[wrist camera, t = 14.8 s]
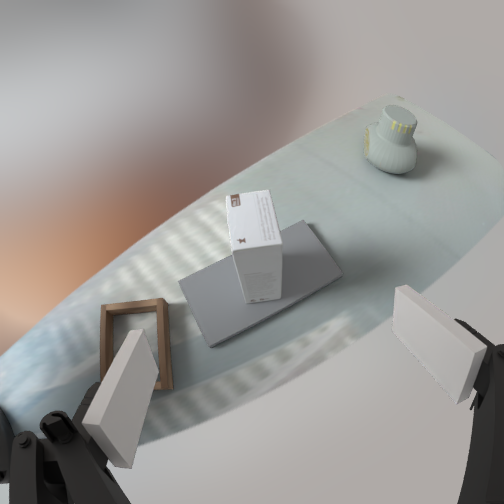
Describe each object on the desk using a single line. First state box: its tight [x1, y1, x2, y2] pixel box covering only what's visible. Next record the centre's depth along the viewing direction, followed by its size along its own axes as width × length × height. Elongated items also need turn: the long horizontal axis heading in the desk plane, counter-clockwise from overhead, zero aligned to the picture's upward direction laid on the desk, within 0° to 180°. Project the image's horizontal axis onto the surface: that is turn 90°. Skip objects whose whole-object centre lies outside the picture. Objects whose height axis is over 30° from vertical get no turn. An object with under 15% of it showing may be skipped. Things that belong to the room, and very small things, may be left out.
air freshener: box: [364, 105, 417, 174], centre depth 41 cm, size 11×8×10 cm
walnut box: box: [100, 298, 174, 390], centre depth 31 cm, size 9×11×2 cm
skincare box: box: [226, 190, 283, 304], centre depth 29 cm, size 6×4×12 cm
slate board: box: [178, 220, 343, 348], centre depth 35 cm, size 18×9×1 cm, turn 118°
